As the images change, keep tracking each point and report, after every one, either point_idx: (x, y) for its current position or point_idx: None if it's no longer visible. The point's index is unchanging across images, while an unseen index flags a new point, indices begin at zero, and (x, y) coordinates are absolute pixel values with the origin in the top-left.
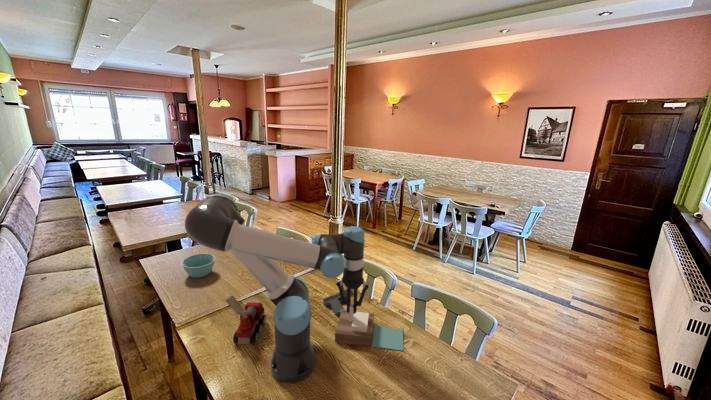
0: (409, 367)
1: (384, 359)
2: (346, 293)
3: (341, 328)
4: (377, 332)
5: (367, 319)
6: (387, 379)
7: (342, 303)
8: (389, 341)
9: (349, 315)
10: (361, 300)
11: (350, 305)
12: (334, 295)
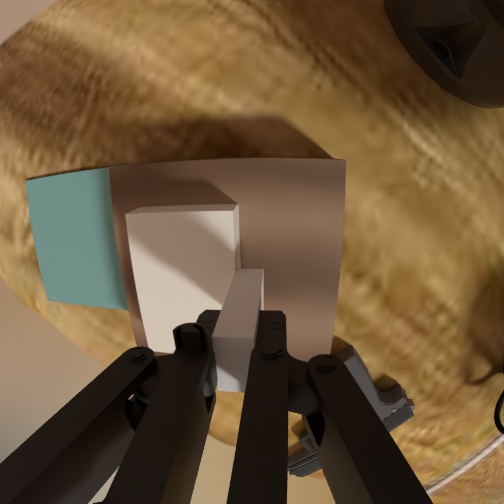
0: (14, 112)
1: (79, 110)
2: (310, 458)
3: (310, 210)
4: None
5: (141, 296)
6: (73, 29)
7: (341, 362)
8: (69, 216)
9: (258, 289)
10: (91, 391)
11: (248, 361)
12: None
